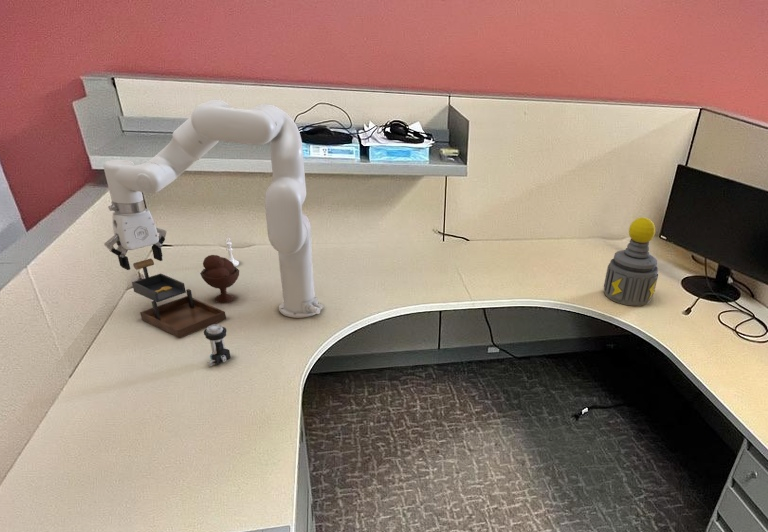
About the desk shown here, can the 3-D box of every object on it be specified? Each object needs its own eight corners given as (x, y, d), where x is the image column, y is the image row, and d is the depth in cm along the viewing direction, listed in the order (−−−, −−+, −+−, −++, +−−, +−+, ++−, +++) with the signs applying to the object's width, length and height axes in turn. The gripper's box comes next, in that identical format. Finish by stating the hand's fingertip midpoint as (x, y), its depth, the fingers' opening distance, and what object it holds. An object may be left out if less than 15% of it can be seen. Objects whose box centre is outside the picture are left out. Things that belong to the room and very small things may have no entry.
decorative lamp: (592, 293, 211) (607, 215, 195) (619, 282, 223) (635, 207, 208) (635, 311, 200) (655, 230, 185) (661, 298, 213) (681, 221, 197)
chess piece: (241, 264, 204) (237, 238, 199) (228, 267, 201) (223, 240, 196) (235, 260, 207) (231, 234, 202) (221, 263, 204) (217, 236, 199)
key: (167, 286, 170) (167, 285, 169) (172, 288, 169) (171, 287, 168) (149, 292, 165) (149, 291, 165) (154, 294, 164) (153, 293, 164)
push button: (217, 370, 146) (210, 336, 141) (201, 365, 147) (194, 331, 142) (236, 358, 151) (230, 325, 146) (220, 353, 153) (213, 321, 148)
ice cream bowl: (230, 308, 175) (223, 263, 167) (198, 302, 176) (189, 257, 169) (250, 295, 184) (243, 252, 176) (219, 289, 185) (211, 246, 178)
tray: (226, 319, 169) (222, 299, 166) (179, 338, 158) (174, 317, 154) (189, 302, 176) (185, 283, 173) (141, 320, 164) (136, 299, 161)
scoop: (186, 292, 169) (180, 266, 164) (157, 302, 162) (150, 275, 158) (161, 282, 173) (155, 255, 169) (132, 291, 166) (125, 264, 162)
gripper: (105, 216, 149) (120, 276, 158) (167, 203, 162) (178, 259, 171) (88, 209, 152) (104, 268, 160) (151, 198, 165) (162, 253, 174)
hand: (142, 264), depth 166 cm, fingers open, 9 cm apart
